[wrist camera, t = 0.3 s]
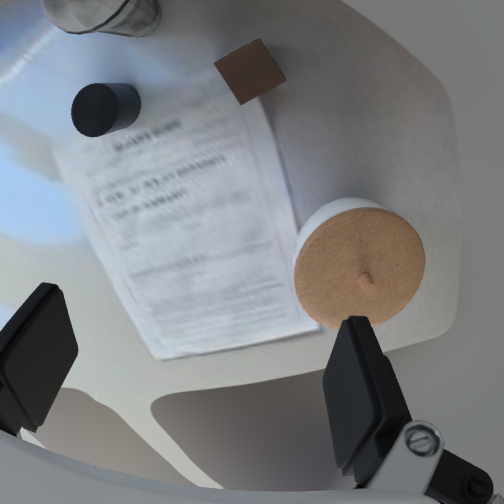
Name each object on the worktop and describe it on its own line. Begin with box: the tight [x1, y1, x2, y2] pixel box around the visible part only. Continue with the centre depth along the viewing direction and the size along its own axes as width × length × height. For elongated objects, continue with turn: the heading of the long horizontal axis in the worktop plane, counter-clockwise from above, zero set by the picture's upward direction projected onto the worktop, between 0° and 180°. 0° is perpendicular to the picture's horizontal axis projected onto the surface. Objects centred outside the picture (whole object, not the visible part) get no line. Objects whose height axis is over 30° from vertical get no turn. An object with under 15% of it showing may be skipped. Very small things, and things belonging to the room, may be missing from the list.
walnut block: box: [214, 38, 286, 105], centre depth 26 cm, size 4×4×4 cm
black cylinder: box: [71, 83, 141, 137], centre depth 27 cm, size 5×5×6 cm
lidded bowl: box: [293, 197, 425, 330], centre depth 31 cm, size 13×13×11 cm
